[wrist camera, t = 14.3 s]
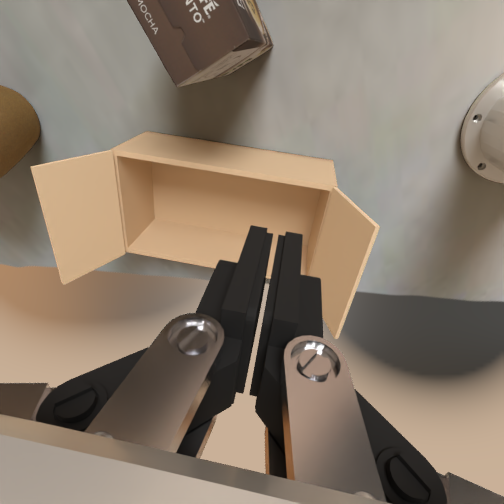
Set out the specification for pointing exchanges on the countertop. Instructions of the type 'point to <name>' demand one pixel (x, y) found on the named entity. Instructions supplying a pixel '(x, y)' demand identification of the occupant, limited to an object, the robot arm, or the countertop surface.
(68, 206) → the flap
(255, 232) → the robot arm
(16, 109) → the plant pot
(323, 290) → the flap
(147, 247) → the carton
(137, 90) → the countertop surface
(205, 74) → the coffee box
